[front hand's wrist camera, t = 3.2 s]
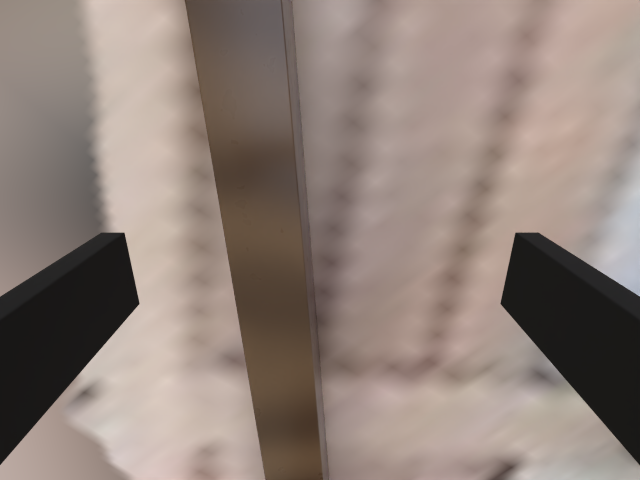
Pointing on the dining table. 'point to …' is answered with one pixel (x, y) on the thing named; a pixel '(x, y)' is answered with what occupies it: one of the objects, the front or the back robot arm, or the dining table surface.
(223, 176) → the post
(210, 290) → the dining table surface
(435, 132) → the dining table surface
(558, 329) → the front robot arm
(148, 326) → the dining table surface
